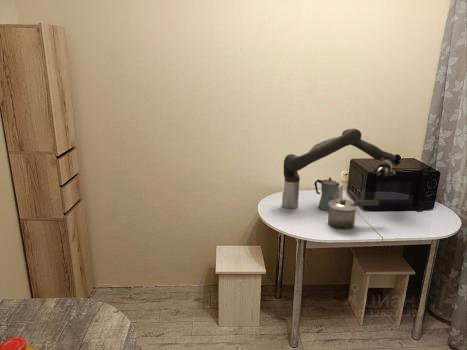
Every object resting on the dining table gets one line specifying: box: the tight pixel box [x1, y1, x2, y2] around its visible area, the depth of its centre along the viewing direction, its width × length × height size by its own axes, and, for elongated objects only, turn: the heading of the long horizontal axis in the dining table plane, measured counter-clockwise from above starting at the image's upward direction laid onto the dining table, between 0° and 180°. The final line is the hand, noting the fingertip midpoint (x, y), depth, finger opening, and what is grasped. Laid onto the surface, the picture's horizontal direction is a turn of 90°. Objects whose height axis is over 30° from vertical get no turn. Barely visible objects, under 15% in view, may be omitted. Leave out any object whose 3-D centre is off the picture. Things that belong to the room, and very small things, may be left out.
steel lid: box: [328, 198, 380, 211], centre depth 208 cm, size 28×15×3 cm, turn 92°
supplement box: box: [333, 182, 344, 199], centre depth 242 cm, size 7×7×13 cm
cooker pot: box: [327, 207, 357, 231], centre depth 210 cm, size 14×14×11 cm
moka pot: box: [314, 177, 340, 211], centre depth 232 cm, size 10×15×20 cm, turn 78°
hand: (381, 174), depth 215 cm, fingers open, 3 cm apart
